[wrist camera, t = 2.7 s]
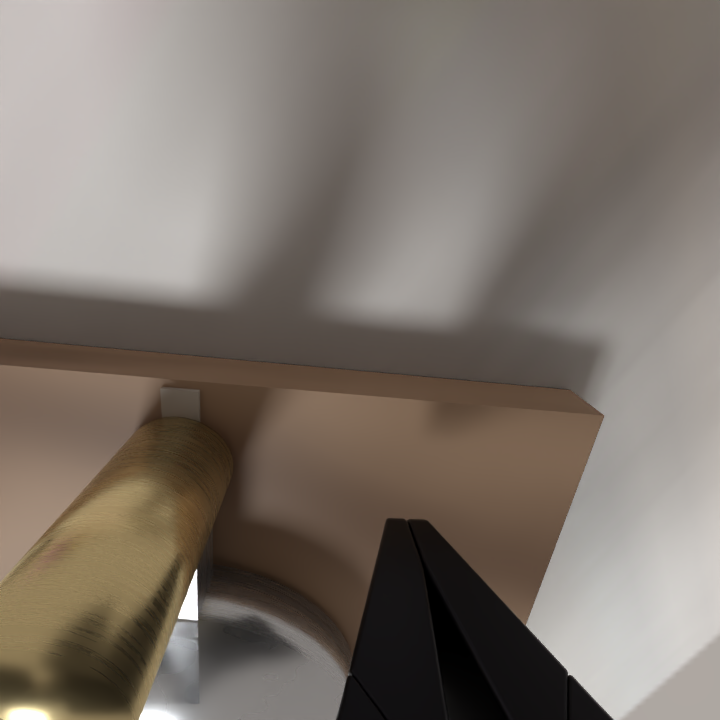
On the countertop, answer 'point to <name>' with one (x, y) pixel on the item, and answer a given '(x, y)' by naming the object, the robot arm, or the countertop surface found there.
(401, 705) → the robot arm
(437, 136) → the countertop surface
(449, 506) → the dial panel
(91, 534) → the dial
